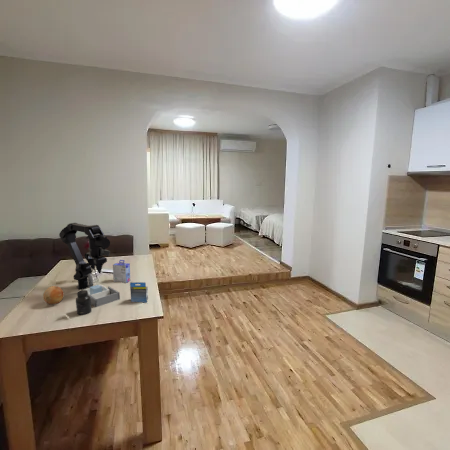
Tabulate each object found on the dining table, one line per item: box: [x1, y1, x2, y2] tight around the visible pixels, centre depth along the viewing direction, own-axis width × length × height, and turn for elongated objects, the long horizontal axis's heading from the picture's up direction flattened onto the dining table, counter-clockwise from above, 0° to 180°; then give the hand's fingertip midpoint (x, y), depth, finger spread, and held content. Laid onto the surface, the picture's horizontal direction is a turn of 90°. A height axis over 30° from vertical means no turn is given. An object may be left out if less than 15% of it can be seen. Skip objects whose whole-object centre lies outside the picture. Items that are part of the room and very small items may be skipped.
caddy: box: [83, 273, 110, 299], centre depth 165 cm, size 14×11×12 cm
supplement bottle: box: [75, 289, 93, 316], centre depth 144 cm, size 7×7×12 cm
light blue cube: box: [90, 284, 102, 295], centre depth 164 cm, size 5×5×5 cm
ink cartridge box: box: [112, 259, 131, 284], centre depth 187 cm, size 10×6×14 cm, turn 78°
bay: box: [88, 285, 121, 308], centre depth 159 cm, size 13×14×5 cm
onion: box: [42, 285, 65, 305], centre depth 155 cm, size 10×10×10 cm
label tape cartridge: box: [129, 281, 149, 304], centre depth 158 cm, size 9×4×12 cm, turn 91°
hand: (96, 271), depth 170 cm, fingers open, 9 cm apart
